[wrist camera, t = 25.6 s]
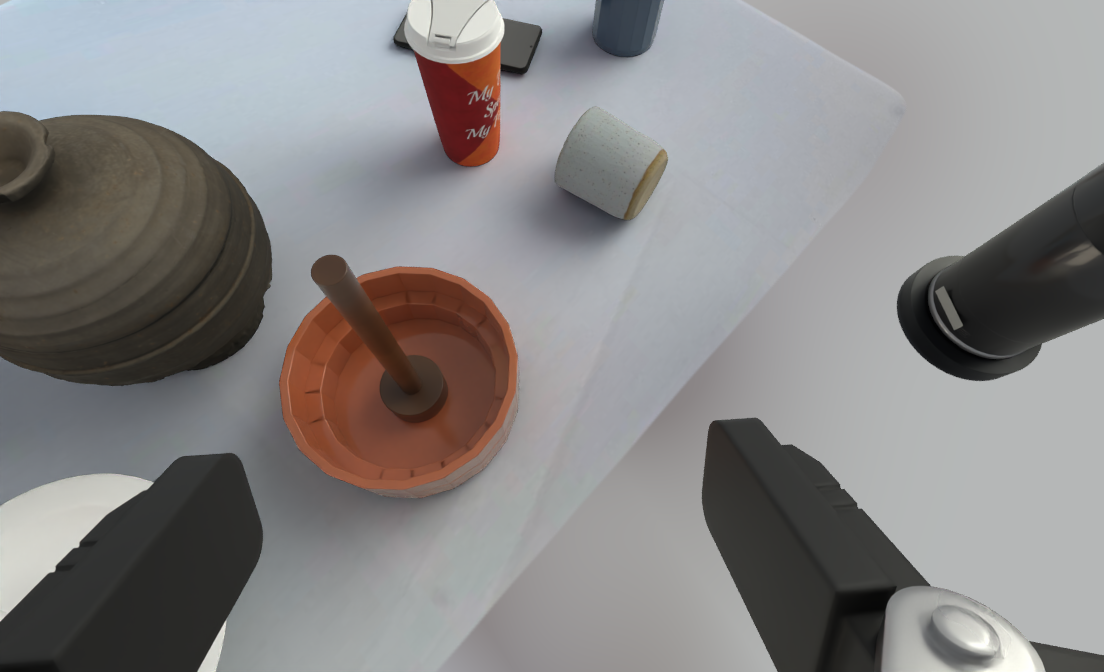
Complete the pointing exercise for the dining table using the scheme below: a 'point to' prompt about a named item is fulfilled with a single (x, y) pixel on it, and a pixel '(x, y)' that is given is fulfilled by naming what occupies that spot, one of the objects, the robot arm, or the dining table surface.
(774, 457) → the robot arm
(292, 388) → the mixing bowl
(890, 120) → the dining table surface
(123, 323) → the pot
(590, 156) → the ceramic mug
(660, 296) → the dining table surface
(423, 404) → the brown wooden plunger
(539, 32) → the smartphone
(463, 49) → the paper cup
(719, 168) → the dining table surface
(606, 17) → the crock
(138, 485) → the candlestick
